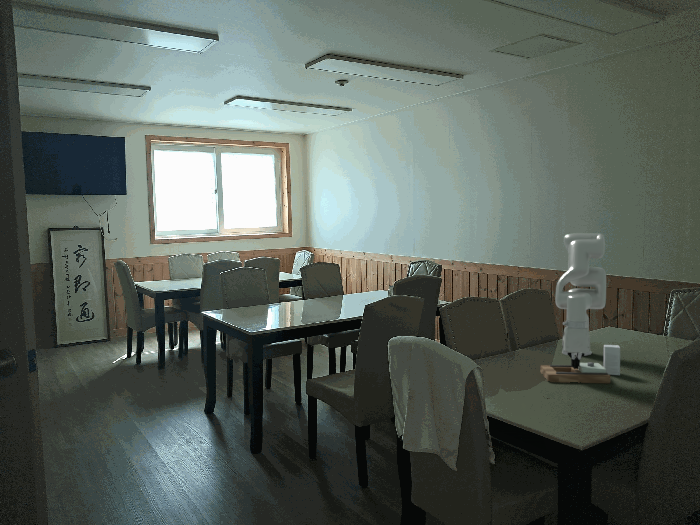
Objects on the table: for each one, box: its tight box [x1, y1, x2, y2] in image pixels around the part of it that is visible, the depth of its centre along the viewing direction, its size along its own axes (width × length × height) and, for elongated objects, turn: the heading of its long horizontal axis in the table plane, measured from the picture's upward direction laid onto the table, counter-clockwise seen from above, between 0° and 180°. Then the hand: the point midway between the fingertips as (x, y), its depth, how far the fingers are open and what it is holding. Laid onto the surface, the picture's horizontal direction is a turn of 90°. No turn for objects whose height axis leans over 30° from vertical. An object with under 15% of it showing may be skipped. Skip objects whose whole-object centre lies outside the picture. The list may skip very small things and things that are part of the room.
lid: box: [578, 361, 606, 373], centre depth 221 cm, size 9×9×3 cm
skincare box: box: [603, 344, 621, 376], centre depth 226 cm, size 6×4×12 cm
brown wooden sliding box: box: [539, 364, 612, 384], centre depth 222 cm, size 14×24×4 cm, turn 83°
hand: (575, 368), depth 221 cm, fingers closed
